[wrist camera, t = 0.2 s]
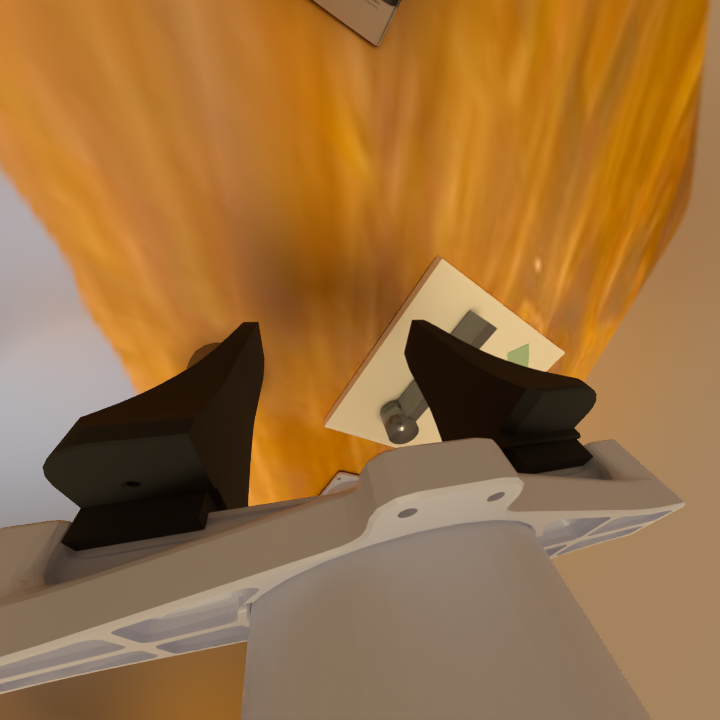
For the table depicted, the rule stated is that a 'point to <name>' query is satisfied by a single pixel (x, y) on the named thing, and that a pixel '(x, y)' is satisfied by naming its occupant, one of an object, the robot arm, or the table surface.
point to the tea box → (363, 15)
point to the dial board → (445, 310)
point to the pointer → (412, 404)
